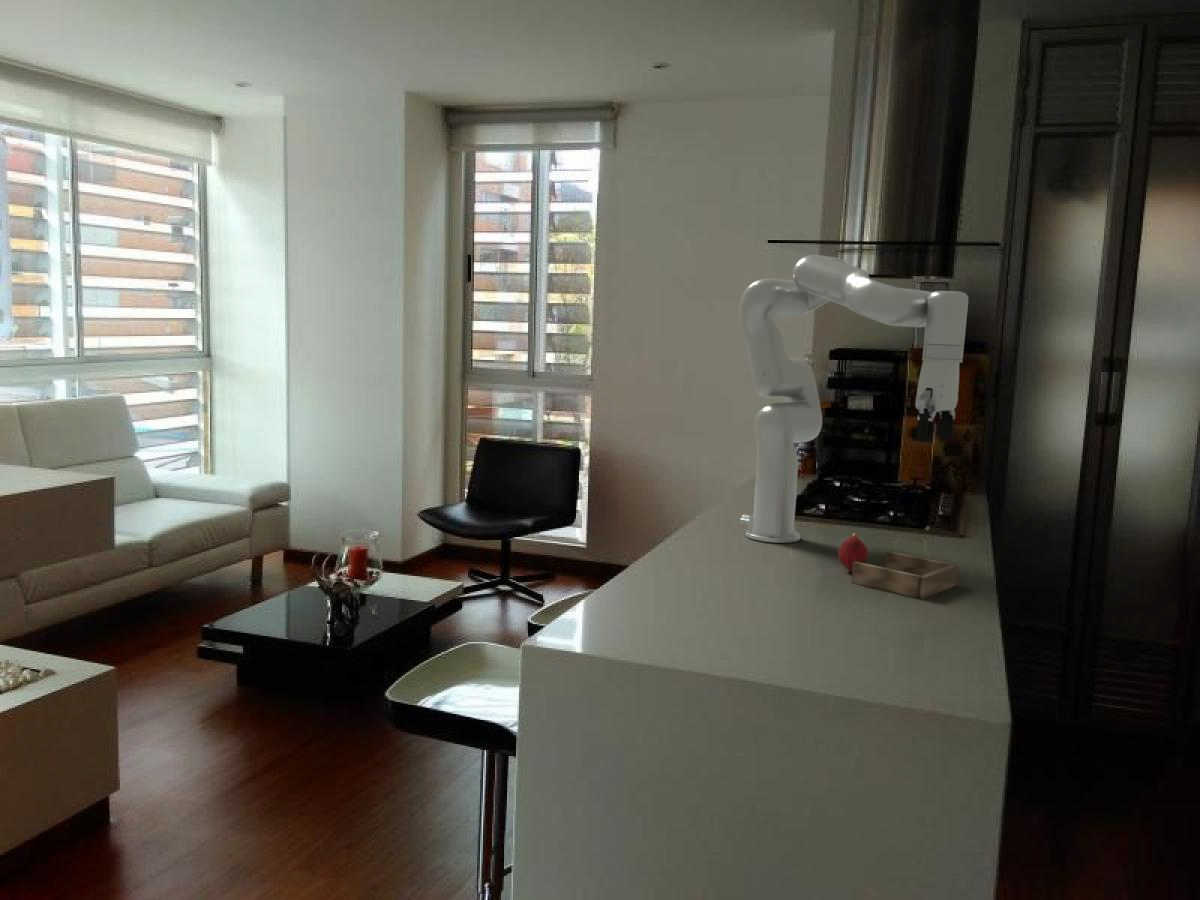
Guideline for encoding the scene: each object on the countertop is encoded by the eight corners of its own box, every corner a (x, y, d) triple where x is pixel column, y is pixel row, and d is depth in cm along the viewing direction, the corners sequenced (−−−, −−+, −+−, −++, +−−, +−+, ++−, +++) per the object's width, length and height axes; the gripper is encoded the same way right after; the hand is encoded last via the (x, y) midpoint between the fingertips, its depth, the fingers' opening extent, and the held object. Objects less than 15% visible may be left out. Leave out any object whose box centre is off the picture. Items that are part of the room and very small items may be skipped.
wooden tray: (851, 582, 187) (852, 562, 187) (887, 569, 198) (888, 551, 198) (922, 599, 178) (924, 578, 177) (956, 585, 189) (958, 565, 188)
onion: (867, 576, 192) (870, 537, 191) (837, 574, 193) (840, 535, 192) (865, 569, 198) (868, 531, 197) (836, 567, 199) (839, 529, 198)
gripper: (941, 353, 199) (933, 434, 201) (906, 352, 186) (898, 440, 188) (978, 355, 194) (969, 439, 196) (943, 355, 181) (935, 444, 184)
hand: (934, 439), depth 192 cm, fingers open, 9 cm apart
